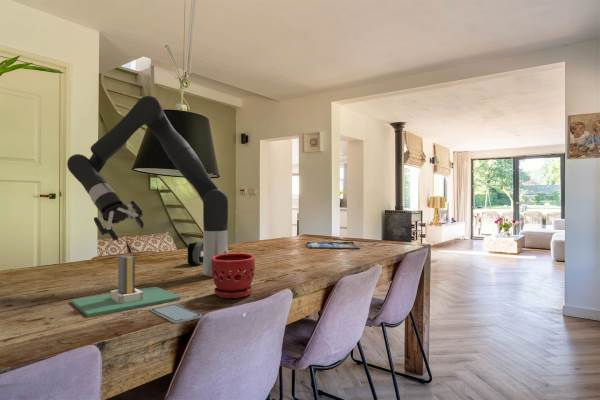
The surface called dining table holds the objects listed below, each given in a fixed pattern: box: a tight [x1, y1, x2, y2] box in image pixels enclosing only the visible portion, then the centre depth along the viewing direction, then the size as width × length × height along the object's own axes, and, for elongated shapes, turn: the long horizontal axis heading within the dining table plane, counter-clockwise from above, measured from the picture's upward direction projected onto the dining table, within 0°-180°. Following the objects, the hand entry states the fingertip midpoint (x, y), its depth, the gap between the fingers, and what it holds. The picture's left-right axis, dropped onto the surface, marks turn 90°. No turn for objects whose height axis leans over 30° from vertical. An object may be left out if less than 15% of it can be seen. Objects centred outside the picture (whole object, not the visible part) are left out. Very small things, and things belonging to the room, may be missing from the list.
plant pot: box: [211, 252, 256, 299], centre depth 113 cm, size 13×13×12 cm
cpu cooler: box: [186, 241, 203, 266], centre depth 168 cm, size 10×6×10 cm, turn 168°
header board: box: [70, 286, 181, 318], centre depth 106 cm, size 24×18×3 cm
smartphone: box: [149, 303, 202, 324], centre depth 94 cm, size 7×1×15 cm
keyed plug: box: [117, 254, 136, 294], centre depth 105 cm, size 3×5×12 cm, turn 43°
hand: (130, 233), depth 123 cm, fingers open, 8 cm apart
